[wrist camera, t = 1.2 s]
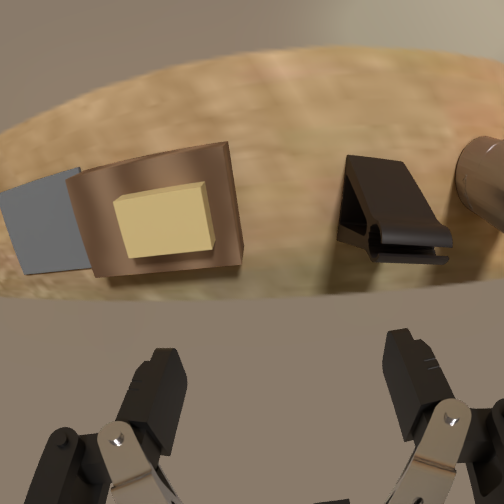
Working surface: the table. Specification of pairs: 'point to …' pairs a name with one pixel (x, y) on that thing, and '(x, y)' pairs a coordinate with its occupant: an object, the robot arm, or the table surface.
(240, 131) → the table surface
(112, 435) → the robot arm
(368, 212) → the phone stand
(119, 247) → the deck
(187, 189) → the yellow block
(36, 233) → the mat
